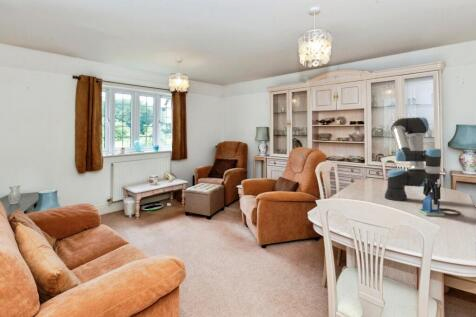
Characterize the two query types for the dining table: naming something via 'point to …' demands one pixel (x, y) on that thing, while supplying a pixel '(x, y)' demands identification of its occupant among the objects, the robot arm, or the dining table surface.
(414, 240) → the dining table surface
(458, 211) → the ring
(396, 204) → the dining table surface
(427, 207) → the perfume bottle
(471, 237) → the dining table surface
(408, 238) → the dining table surface
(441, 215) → the tray
